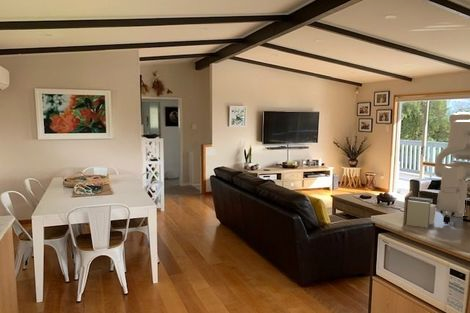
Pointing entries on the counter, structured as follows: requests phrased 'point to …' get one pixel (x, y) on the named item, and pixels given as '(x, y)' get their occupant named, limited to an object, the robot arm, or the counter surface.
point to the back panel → (406, 206)
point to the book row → (418, 212)
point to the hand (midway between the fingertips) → (446, 223)
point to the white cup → (432, 213)
